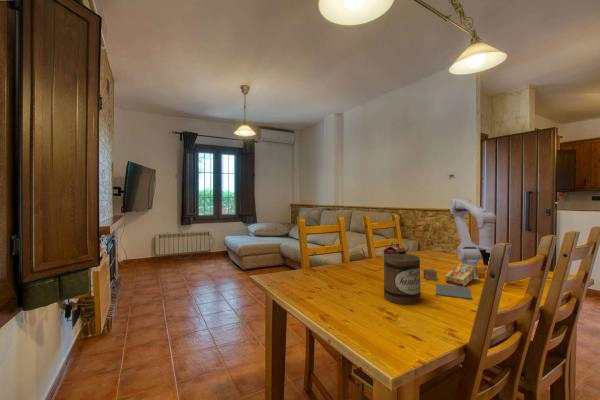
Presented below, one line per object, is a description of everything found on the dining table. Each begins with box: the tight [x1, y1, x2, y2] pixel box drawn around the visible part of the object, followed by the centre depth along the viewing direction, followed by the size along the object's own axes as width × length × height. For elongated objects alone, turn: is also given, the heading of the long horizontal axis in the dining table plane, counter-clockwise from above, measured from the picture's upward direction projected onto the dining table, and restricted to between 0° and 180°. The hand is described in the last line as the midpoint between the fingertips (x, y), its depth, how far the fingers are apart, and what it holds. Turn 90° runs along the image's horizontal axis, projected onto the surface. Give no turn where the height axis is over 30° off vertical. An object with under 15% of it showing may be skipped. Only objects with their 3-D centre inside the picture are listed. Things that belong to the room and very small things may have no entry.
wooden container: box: [383, 247, 422, 306], centre depth 121 cm, size 15×15×22 cm
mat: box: [435, 283, 473, 301], centre depth 129 cm, size 16×14×1 cm
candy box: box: [444, 262, 479, 287], centre depth 142 cm, size 9×4×15 cm
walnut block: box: [423, 268, 438, 282], centre depth 149 cm, size 5×5×5 cm
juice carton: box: [383, 241, 400, 257], centre depth 135 cm, size 7×7×22 cm
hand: (486, 265), depth 136 cm, fingers closed
